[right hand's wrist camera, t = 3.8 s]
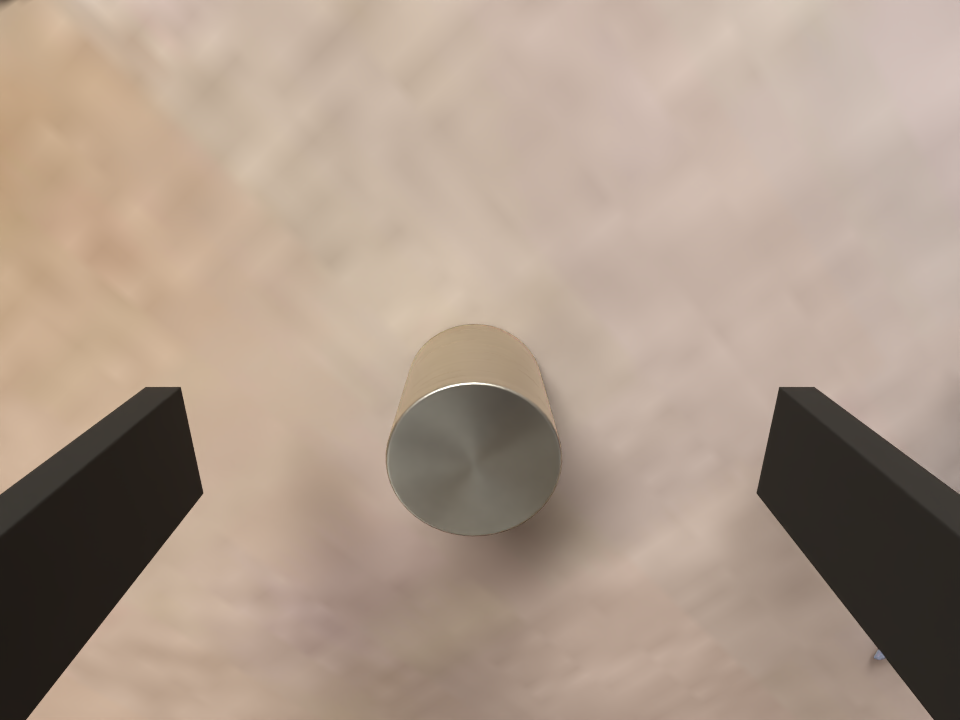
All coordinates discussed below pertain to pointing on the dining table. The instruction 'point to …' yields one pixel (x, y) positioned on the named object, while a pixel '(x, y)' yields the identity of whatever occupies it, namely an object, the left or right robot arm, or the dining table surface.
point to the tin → (474, 434)
